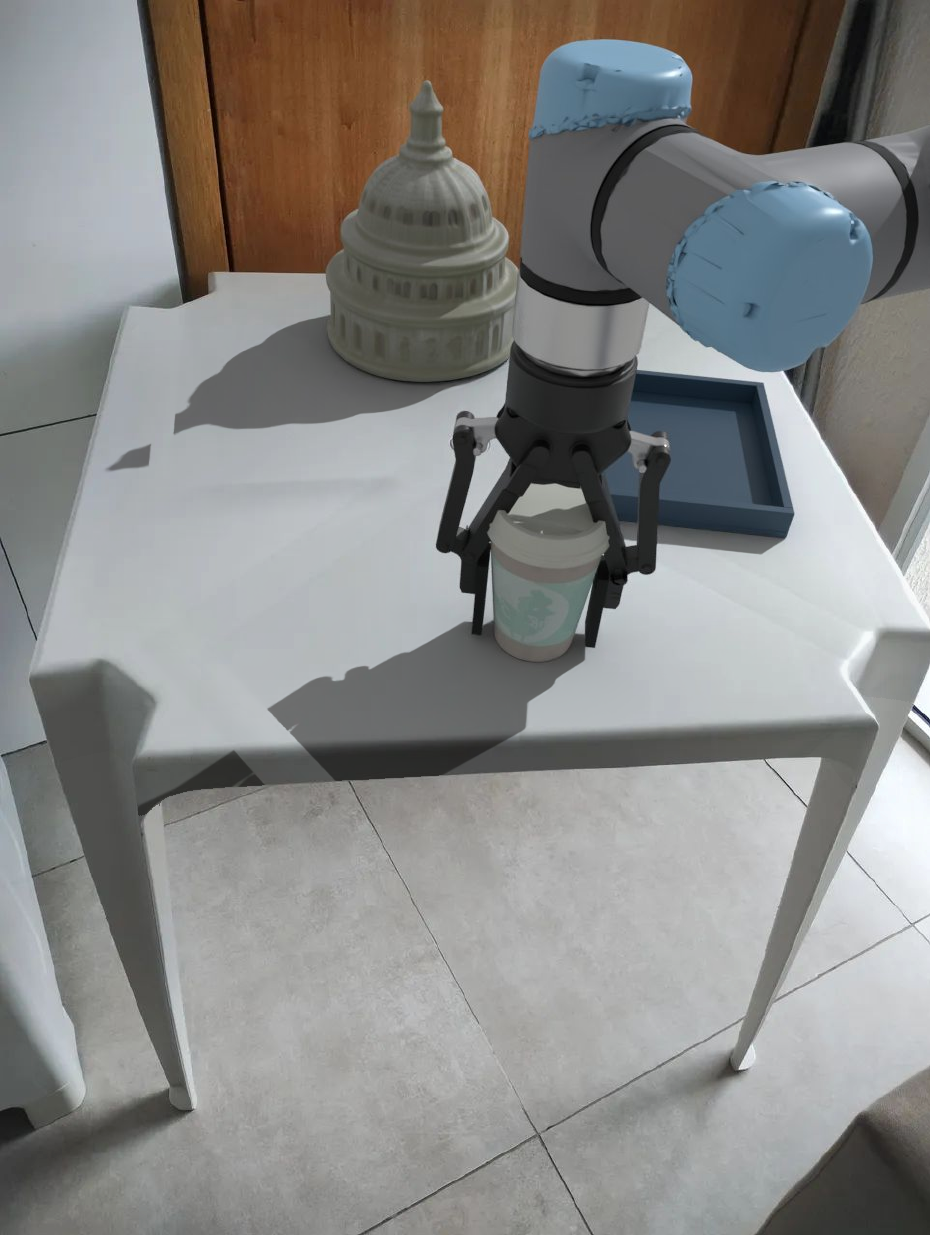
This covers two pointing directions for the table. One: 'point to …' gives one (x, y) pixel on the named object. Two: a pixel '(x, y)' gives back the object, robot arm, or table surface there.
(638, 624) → the table surface
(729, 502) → the tray
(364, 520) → the table surface
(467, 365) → the dome
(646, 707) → the table surface
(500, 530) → the coffee cup
